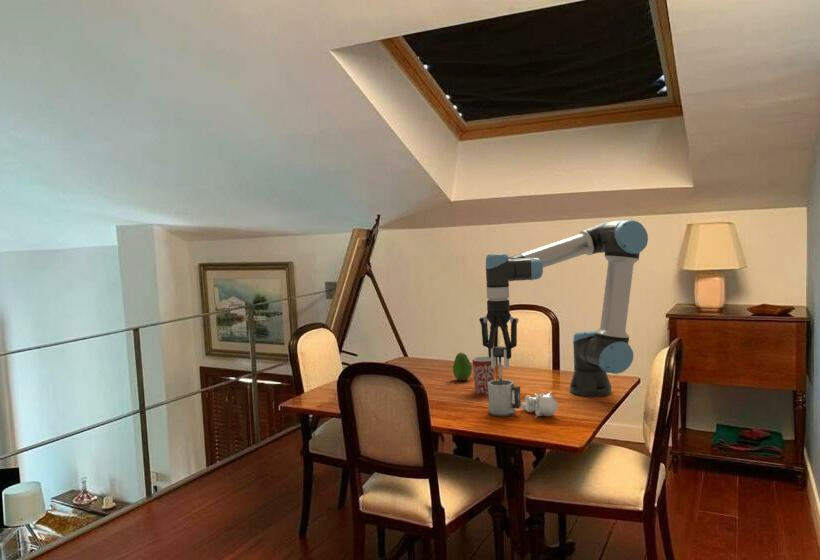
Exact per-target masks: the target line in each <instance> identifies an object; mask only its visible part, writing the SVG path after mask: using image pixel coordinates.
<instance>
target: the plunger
mask: <svg viewBox="0 0 820 560" xmlns="http://www.w3.org/2000/svg"><path fill="white" fill-rule="evenodd" d="M493 348H494V357H496V358H498V378H499V379H498V380H499V383H500V385H502V380H503V374H502V373H503V369H502V368H503V367H502V365H503V364H502V358H504V349H505V348H506V347H505V346H503V345H502V346H501V345H500V346H494V347H493Z"/></svg>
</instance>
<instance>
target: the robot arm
mask: <svg viewBox="0 0 820 560" xmlns="http://www.w3.org/2000/svg"><path fill="white" fill-rule="evenodd" d="M648 242H649V236H648V232H647V229H646V228H645V227H644V225H643V224H642V223H641V222H639V221H637V220H635V219H634V220H632V219H621V220H607V221H604V222H602V223H599V224H596V225H594V226H591V227H589V228H586V229H583V230H581V231H579V233H578V234H577V235H576V234H575V235H574V236H569V237H567V238H564V239H561V240H558V241H555V242H552V243H549V244H546V245H542V246H540V247H539V246H538V247H536V248H534V249H531V250H528V251H524V252H520V253H518V254H515V255H512V256H509V255H508V254H507V253H490V254H487V255H486V258H485V266H484V267H485V278H486V299H488V300H487V301H486V309H487V313H486V316H483V317H480V318H479V322H480V325H481V326H480V327H481V338H482V339H481V340H482V341H481V342H482V346H483V347H486V348H487V349H488V350H487V352H488V355H487V356H489V358H491V368H494V367H495V368H497V357H494V347H495V340H496V333H497V328H498V327H499V328H500V330H501V332H502V338H503V342H504V347H506V348H505V349H504V357H503V364H504V365H503V368H504V369H505V370H507V369H509V368H510V359H511V358H512V349H513V348H516V347H517V346H518V345H517V342H518V340H517V339H518V338H517V337H518V335H517V334H518V333H517V332H518V328H517V327H518V323H519V318H517V317H513V316H512V314H511V312H510V299H509V298H510V282H514V281H515V282H516V281H520V282H521V281H534V280H540V279H541V278H542V276H543V273H544V268H546V267H550V266H552V265H556V264H558V263H559V264H560V263H561V262H565V261H568V260H570V259H573V258H576V257H579V256H583V255H587V256H592V255H594V254H595V255H596V254H600V253H604V258H605V259H606V260H607V262H608V263H607V268H606V269H607V270H606V278H605V287H604V293H603V300H602V301H603V303H602V311H601V320H600V326H599V328H598V329H597V330H591V331H589V330H588V331H579V332H575V333H574V334H573V340H572V344H573V345H572V346H573V370H574V371H573V374H572V378H571V382H570V384H569V392H570V393H571V394H573V395H576V396H582V397H603V396H608V395H610V394H611V393H612V385H611V381H610V379H609V376H608V374H615V375H616V374H617V375H618V374H621V373H624V372H625V371H626V370H627V369H629V368H630V367H631V365H632V363H633V360H634V350H633V348H632V346H630V344H629V341H630V335H629V334H628V333H627V331H626V328H627V320H628V314H629V304H630V296H631V289H632V281H633V273H634V265H635V263H637V262H638V261H639V259H640V254H641V253H642V252H643V251H644V249H645V248H646V247H647V245H648ZM488 322H489V323H490V327H489V328H490V329H489V330H488ZM508 323H510V332H509V329H508V328H509V325H508Z"/></svg>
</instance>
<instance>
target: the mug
mask: <svg viewBox="0 0 820 560" xmlns="http://www.w3.org/2000/svg"><path fill="white" fill-rule="evenodd" d="M471 361H472V371H473V381H474V382H473V383H474V392H475V394H477V395H480V396H488V382H490V381H494V380H495V372H496V371H495V369H496V367H494V368H491V358H489V355H487V356H486V355H485V356H484V355H483V356H482V355H481V356H480V355H479V356H475V357H472V358H471Z"/></svg>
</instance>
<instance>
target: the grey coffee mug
mask: <svg viewBox="0 0 820 560" xmlns="http://www.w3.org/2000/svg"><path fill="white" fill-rule="evenodd" d="M487 396H488V411H487V413H488V415H490V416H492V417H496V418H500V417H501V418H505V417H511V416H512V417H513V416H514V415H516V409H520V408H522V407H521V403H522V402H521V386H518V385H515V384H514V382H513V381H512V380H509V379H502V385H500V383H499V379H494V381H490V382H488V395H487Z"/></svg>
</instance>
